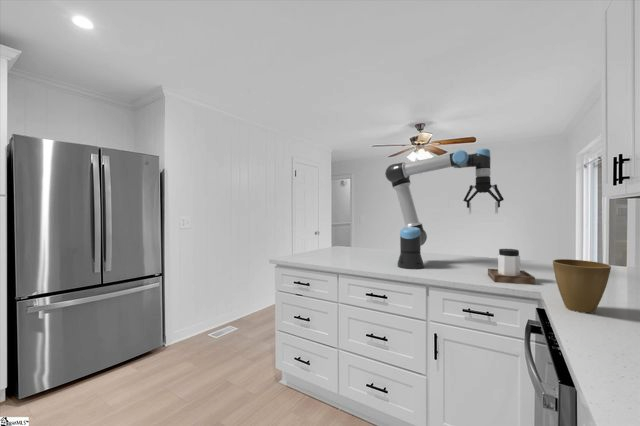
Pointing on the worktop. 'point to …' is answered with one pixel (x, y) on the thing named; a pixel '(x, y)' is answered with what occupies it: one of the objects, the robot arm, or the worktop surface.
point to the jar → (509, 262)
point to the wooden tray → (511, 277)
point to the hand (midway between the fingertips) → (483, 213)
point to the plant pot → (581, 283)
